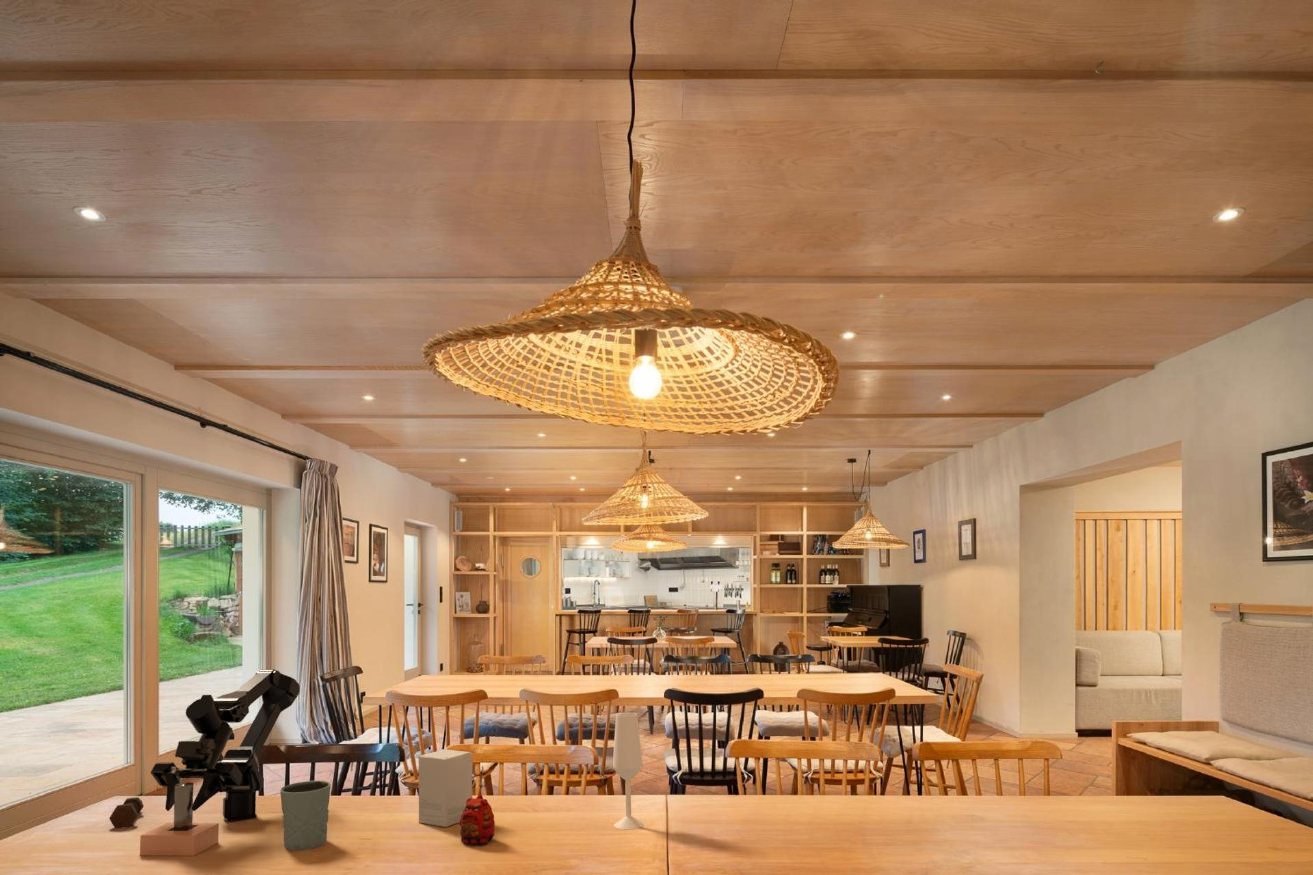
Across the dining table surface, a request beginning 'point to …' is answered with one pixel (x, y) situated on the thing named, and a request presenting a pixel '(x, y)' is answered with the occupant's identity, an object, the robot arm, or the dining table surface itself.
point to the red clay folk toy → (477, 819)
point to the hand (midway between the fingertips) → (180, 809)
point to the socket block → (179, 840)
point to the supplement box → (444, 786)
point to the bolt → (126, 812)
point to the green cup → (305, 814)
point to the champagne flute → (627, 760)
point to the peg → (183, 806)
